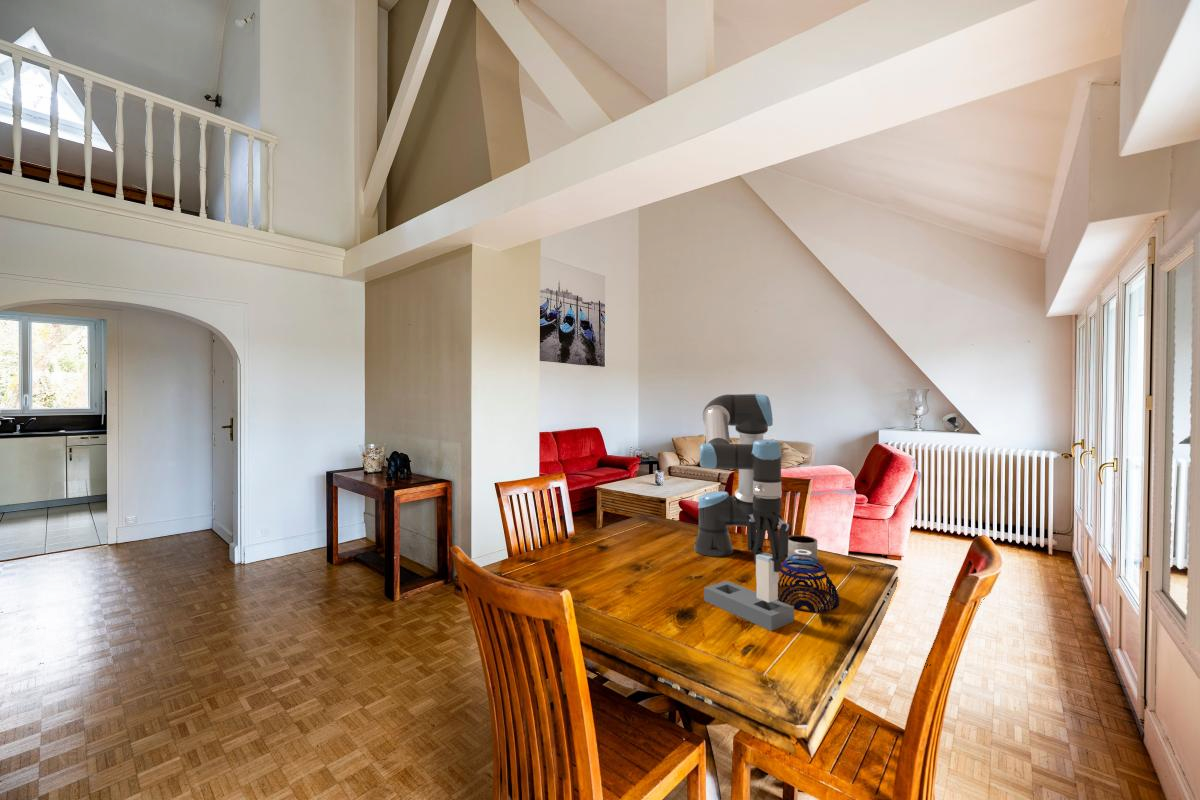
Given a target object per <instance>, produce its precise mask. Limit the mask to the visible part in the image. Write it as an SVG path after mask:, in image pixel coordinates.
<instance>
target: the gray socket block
mask: <svg viewBox="0 0 1200 800" xmlns="http://www.w3.org/2000/svg"><path fill="white" fill-rule="evenodd" d="M703 601H704V602H706V603H708V604H711V605H712V606H715V607H716V608H719V609H721V610H724V611H726V612H728V613H730V614H732V615H734V616H737V617H739V618H741V619H743V620H745V621H748V622H750V623H753V624H754V625H757V626H759V627H761V628H762V629H765V630H768V631H770V632H772V631H773V632H774V630H777V629H779V628H782V627H784V626H786V625H789V624H791V623H793V622H795V609H794V605H790V604H787V603H786V602H785V603H783V602H780V601H779V599H778V600H775V601H772V602H769V603H768V602H766V601H763V600H761V599H758V598H757V591H754V590H752V589H749V588H746V587H745V586H741V585H739V584H737V583H735V582H732V581H728V580H724V581H721V582H717V583H714V584H711V585H708V586H705V587H703Z"/></svg>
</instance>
